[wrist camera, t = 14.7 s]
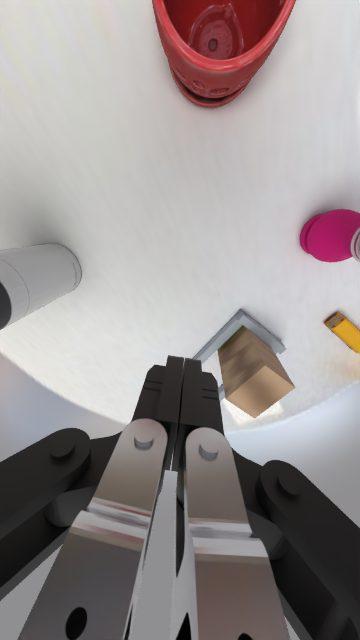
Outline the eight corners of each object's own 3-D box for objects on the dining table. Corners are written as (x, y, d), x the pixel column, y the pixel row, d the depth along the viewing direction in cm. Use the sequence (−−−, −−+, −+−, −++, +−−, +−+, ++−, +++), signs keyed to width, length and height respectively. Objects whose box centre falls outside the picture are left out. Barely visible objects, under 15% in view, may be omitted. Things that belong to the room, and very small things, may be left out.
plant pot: (154, 104, 31) (132, 40, 20) (181, -39, 26) (171, -234, 15) (242, 135, 32) (266, 89, 21) (286, 2, 26) (350, -154, 15)
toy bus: (351, 350, 44) (365, 360, 41) (320, 321, 42) (331, 330, 39) (366, 339, 43) (381, 349, 40) (335, 309, 41) (347, 317, 38)
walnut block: (238, 365, 47) (254, 418, 34) (217, 349, 46) (225, 398, 33) (266, 340, 44) (295, 387, 31) (244, 322, 43) (265, 365, 30)
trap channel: (191, 419, 55) (190, 429, 52) (155, 397, 53) (153, 406, 50) (280, 341, 44) (286, 348, 42) (240, 309, 42) (243, 315, 40)
